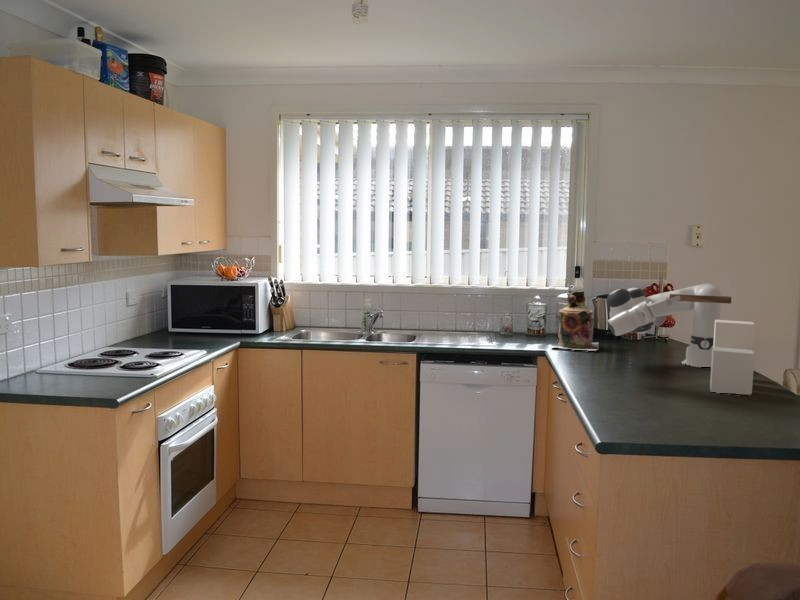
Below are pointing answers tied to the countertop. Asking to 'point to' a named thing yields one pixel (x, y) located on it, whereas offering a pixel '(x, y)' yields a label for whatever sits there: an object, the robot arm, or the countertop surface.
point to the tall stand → (734, 334)
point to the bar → (703, 298)
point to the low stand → (732, 370)
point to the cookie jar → (576, 324)
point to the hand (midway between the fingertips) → (680, 296)
